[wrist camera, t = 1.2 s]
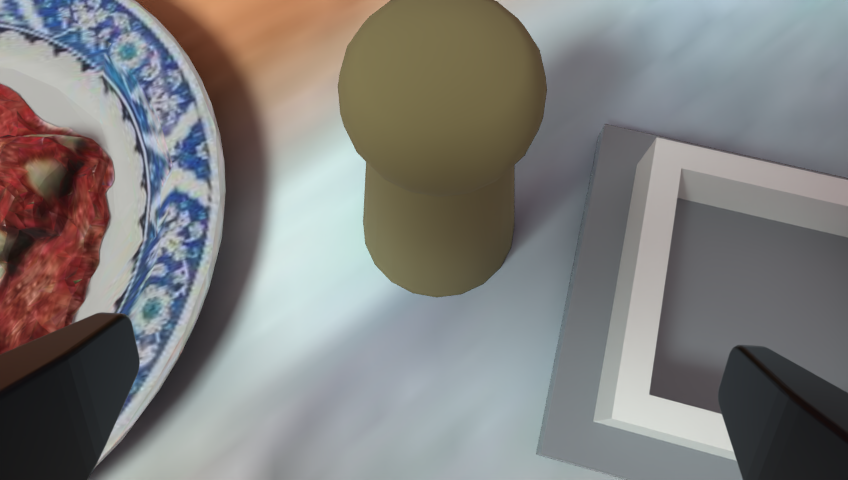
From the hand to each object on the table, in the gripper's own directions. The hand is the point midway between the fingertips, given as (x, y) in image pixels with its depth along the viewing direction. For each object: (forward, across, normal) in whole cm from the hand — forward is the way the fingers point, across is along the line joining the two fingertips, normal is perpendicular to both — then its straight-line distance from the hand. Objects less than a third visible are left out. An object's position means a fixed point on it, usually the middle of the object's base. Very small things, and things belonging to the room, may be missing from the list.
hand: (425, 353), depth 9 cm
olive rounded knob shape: (+15, 0, +4) cm, 15 cm away
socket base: (+12, -12, +7) cm, 18 cm away
